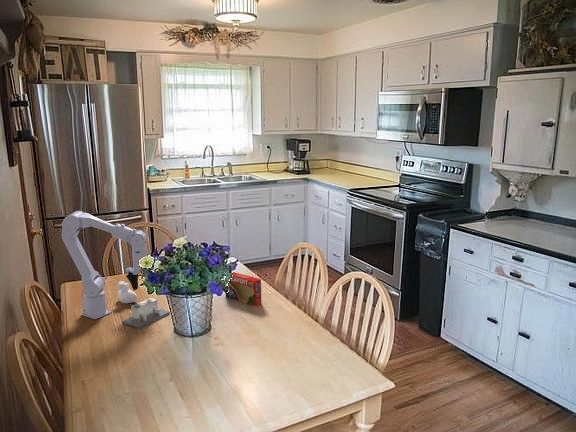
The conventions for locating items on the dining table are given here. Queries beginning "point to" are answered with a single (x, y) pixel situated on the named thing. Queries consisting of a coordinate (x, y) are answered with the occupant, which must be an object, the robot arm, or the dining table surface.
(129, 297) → the bust
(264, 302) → the dining table surface
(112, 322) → the dining table surface
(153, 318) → the pin tray
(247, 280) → the toy box
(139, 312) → the block
